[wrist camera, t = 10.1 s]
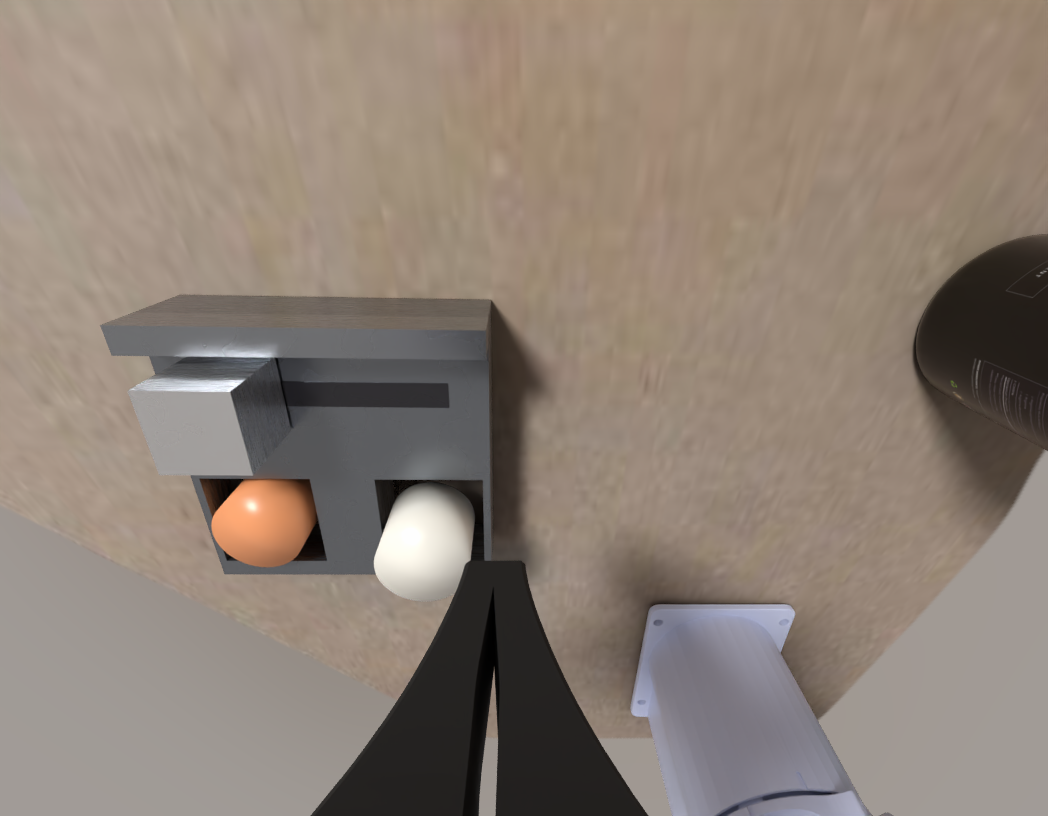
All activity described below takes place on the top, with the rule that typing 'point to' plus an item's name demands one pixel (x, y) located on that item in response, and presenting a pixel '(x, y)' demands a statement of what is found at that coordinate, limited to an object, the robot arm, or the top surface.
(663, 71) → the top surface
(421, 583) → the ivory button
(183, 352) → the panel
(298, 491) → the orange button
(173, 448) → the slider knob
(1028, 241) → the supplement bottle
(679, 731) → the robot arm
